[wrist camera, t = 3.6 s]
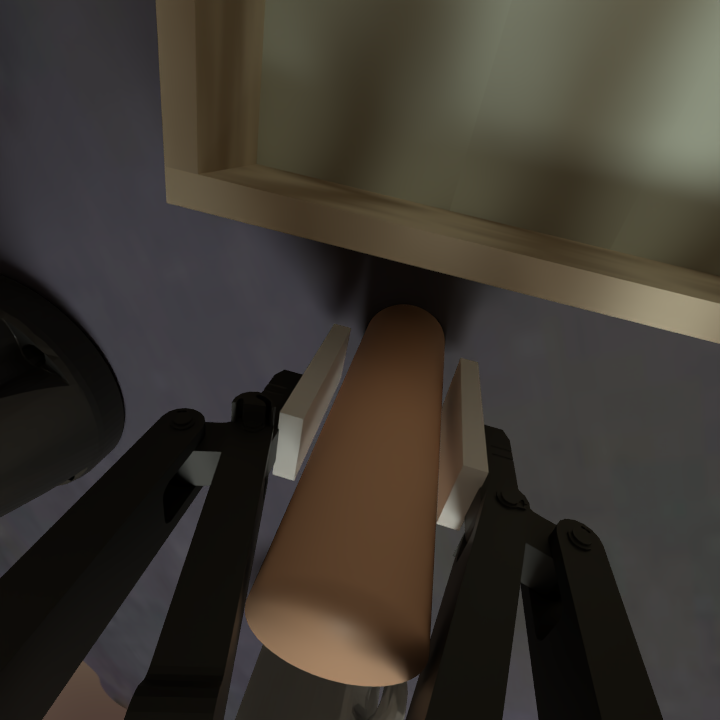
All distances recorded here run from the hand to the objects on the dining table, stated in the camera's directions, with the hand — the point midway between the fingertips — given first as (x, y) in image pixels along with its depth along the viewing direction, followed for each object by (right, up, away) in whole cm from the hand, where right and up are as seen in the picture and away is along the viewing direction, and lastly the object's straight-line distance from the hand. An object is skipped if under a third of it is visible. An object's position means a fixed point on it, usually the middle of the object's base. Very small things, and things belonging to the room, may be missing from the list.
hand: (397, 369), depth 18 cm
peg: (+1, +1, +2) cm, 3 cm away
